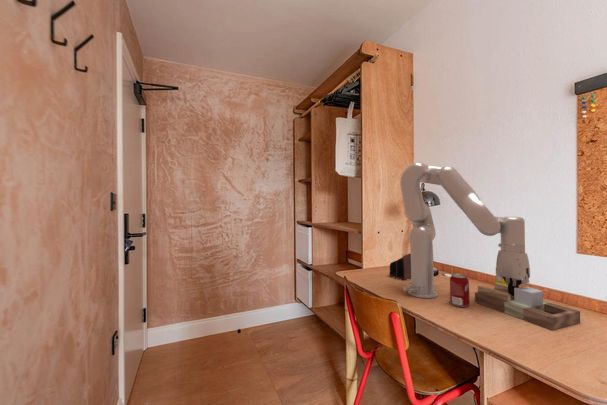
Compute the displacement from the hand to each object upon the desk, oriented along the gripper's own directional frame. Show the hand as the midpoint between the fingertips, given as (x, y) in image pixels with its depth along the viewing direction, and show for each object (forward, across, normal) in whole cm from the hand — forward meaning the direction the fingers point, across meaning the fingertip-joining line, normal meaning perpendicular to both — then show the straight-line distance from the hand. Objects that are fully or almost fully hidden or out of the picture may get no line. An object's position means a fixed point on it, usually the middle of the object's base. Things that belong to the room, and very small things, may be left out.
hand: (513, 295), depth 106 cm
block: (+1, +6, 0) cm, 6 cm away
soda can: (+5, -10, -16) cm, 20 cm away
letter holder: (+6, -53, -5) cm, 54 cm away
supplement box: (+5, -13, +16) cm, 21 cm away
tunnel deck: (+5, +3, 0) cm, 6 cm away
